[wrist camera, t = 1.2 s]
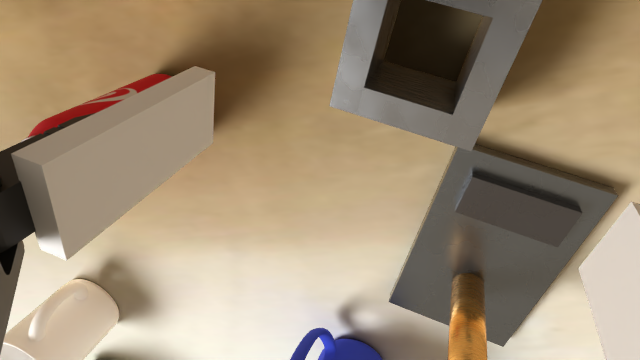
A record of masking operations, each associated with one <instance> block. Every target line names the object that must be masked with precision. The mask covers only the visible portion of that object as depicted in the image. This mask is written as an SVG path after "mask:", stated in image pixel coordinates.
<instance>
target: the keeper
mask: <svg viewBox="0 0 640 360" xmlns="http://www.w3.org/2000/svg"><path fill="white" fill-rule="evenodd" d="M617 197H618V195H617V193H616V191H615V190H614V188H613V187H609V186H606V185H603V184H600V183H597V182H594V181H590V180H587V179H584V178H581V177H578V176H575V175H571V174H568V173H565V172H562V171H559V170H556V169H552V168H549V167H546V166H543V165H540V164H537V163H533V162H530V161H527V160H524V159H521V158H518V157H514V156H511V155H508V154H505V153H502V152H499V151H495V150H492V149H489V148H486V147H483V146H480V145H476V144H475V145H474V147H473V149H472V151H468V150H465V149H462V148H459V147H455V150H454V152H453V154H452V156H451V159H450V161H449V163H448V165H447V168H446V170H445V172H444V174H443V177H442V179H441V181H440V183H439V186H438V188H437V190H436V193H435V195H434V197H433V199H432V202H431V204H430V206H429V208H428V211H427V213H426V215H425V217H424V220H423V222H422V224H421V226H420V229H419V231H418V233H417V235H416V238H415V240H414V242H413V244H412V247H411V249H410V251H409V254H408V256H407V258H406V260H405V263H404V265H403V267H402V269H401V272H400V274H399V276H398V278H397V281H396V283H395V285H394V287H393V290H392V292H391V294H390V299H389V302H390V303H393V304H395V305H398V306H400V307H403V308H405V309H408V310H411V311H413V312H416V313H418V314H421V315H423V316H426V317H428V318H431V319H434V320H436V321H439V322H441V323H444V324H446V325H449V345H448V360H487V341H490V342H492V343H495V344H498V345H500V346H504V345H505V344H506V342H507V341H508V340H509V338H510V337H511V336H512V334H513V333H514V332H515V331H516V329H517V328H518V327H519V325H520V324H521V323H522V321H523V320H524V319H525V317H526V316H527V315H528V313H529V312H530V311H531V310H532V308H533V307H534V306H535V304H536V303H537V302H538V300H539V299H540V298H541V296H542V295H543V294H544V292H545V291H546V290H547V289H548V287H549V286H550V285H551V283H552V282H553V281H554V279H555V278H556V277H557V275H558V274H559V273H560V271H561V270H562V269H563V268H564V266H565V265H566V264H567V262H568V261H569V260H570V258H571V257H572V256H573V254H574V253H575V252H576V250H577V249H578V248H579V247H580V245H581V244H582V243H583V241H584V240H585V239H586V237H587V236H588V235H589V233H590V232H591V231H592V229H593V228H594V227H595V226H596V224H597V223H598V222H599V220H600V219H601V218H602V216H603V215H604V214H605V212H606V211H607V210H608V208H609V207H610V206H611V205H612V203H613V202H614V201H615V199H616V198H617ZM486 340H487V341H486Z"/></svg>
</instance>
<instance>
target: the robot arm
mask: <svg viewBox="0 0 640 360" xmlns="http://www.w3.org/2000/svg"><path fill="white" fill-rule="evenodd" d="M214 94H215V72H213V71H210V70H207V69H203V68H200V67H197V66H194V67H192V68H190V69H187V70H185V71H183V72H181V73H179V74H177V75H175V76H173V77H171V78H169V79H166V80H164V81H162V82H160V83H158V84H156V85H154V86H152V87H150V88H148V89H146V90H143V91H141V92H139V93H137V94H135V95H133V96H131V97H129V98H127V99H125V100H122V101H120V102H118V103H116V104H114V105H112V106H110V107H108V108H106V109H104V110H101V111H99V112H97V113H92V114H88V115H83V116H79V117H74V118H72V119H70V120H68V121H66V122H64V123H61V124H59V125H58V127H57V128H56V127H53V128H51V129H49V130H46V131H44V133H43V134H41V133H40V134H38V135H36V136H33V137H31V138H29V139H27V140H25V141H23V142H20V143H18V144H16V145H14V146H12V147H10V148H7V149H5V150H3V151H1V152H0V354H1V350H2V345H3V341H4V337H5V333H6V328H7V324H8V320H9V316H10V311H11V307H12V303H13V298H14V294H15V290H16V286H17V281H18V277H19V273H20V269H21V264H22V260H23V256H24V244H23V241H22V240H23V239H24V238H26V237H27V236H29V235H30V234H32V233H33V232H35V234H36V237H37V240H38V244H39V247H40V250H43V251H45V252H47V253H50V254H52V255H55V256H57V257H59V258H62V259H64V260H66V261H67V260H68V259H69V258H70V257H72V256H73V255H74V254H75V253H77V252H78V251H79V250H80V249H82V248H83V247H84V246H85V245H87V244H88V243H89V242H90V241H92V240H93V239H94V238H95V237H97V236H98V235H99V234H100V233H101V232H103V231H104V230H105V229H106V228H108V227H109V226H110V225H111V224H113V223H114V222H115V221H116V220H118V219H119V218H120V217H121V216H123V215H124V214H125V213H126V212H128V211H129V210H130V209H131V208H133V207H134V206H135V205H136V204H138V203H139V202H140V201H141V200H143V199H144V198H145V197H146V196H148V195H149V194H150V193H151V192H153V191H154V190H155V189H156V188H158V187H159V186H160V185H161V184H162V183H164V182H165V181H166V180H167V179H169V178H170V177H171V176H172V175H174V174H175V173H176V172H177V171H179V170H180V169H181V168H182V167H184V166H185V165H186V164H187V163H189V162H190V161H191V160H192V159H194V158H195V157H196V156H197V155H199V154H200V153H201V152H202V151H204V150H205V149H206V148H207V147H209V146H210V145H211V144H212V143H213V127H214ZM578 269H579V273H580V276H581V279H582V282H583V286H584V289H585V292H586V296H587V299H588V302H589V305H590V309H591V312H592V315H593V318H594V322H595V325H596V328H597V331H598V335H599V338H600V341H601V345H602V348H603V351H604V354H605V358H606V360H640V204H638V203H635V202H631V203H630V204H629V205H628V206H627V208H626V209H625V210H624V211H623V213H622V214H621V215H620V216H619V218H618V219H617V220H616V221H615V223H614V224H613V225H612V226H611V228H610V229H609V230H608V231H607V233H606V234H605V235H604V236H603V238H602V239H601V240H600V242H599V243H598V244H597V245H596V247H595V248H594V249H593V250H592V252H591V253H590V254H589V255H588V257H587V258H586V259H585V260H584V262H583V263H582V264H581V265H580V267H579V268H578Z"/></svg>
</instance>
